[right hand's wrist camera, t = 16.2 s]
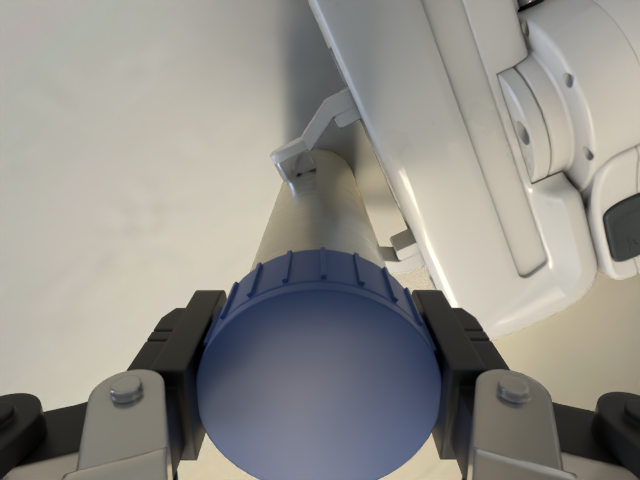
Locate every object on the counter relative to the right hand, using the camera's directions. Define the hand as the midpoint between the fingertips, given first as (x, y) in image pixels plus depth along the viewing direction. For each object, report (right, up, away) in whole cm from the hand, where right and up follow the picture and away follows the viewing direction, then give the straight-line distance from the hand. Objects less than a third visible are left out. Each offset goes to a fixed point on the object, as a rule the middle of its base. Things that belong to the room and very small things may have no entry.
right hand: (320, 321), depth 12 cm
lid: (0, -1, -3) cm, 3 cm away
